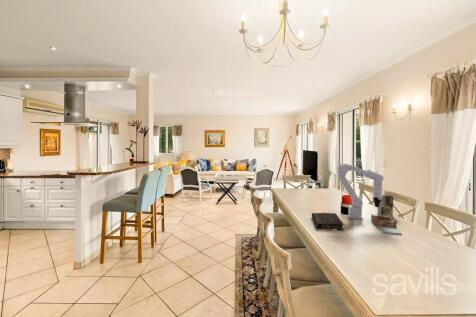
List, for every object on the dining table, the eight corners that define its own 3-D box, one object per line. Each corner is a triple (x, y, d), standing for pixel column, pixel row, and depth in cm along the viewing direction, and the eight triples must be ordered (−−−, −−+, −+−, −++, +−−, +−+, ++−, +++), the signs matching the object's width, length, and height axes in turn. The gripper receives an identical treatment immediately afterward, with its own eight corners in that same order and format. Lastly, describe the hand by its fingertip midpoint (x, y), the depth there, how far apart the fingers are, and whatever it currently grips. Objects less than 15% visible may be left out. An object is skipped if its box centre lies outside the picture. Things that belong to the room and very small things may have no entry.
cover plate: (383, 234, 156) (383, 231, 156) (378, 228, 166) (378, 226, 166) (401, 235, 153) (401, 233, 153) (395, 229, 163) (395, 227, 163)
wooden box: (376, 226, 168) (376, 219, 167) (371, 220, 180) (371, 214, 180) (396, 228, 165) (396, 220, 164) (389, 222, 177) (390, 215, 177)
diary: (316, 230, 163) (316, 222, 163) (311, 218, 188) (311, 212, 187) (345, 231, 160) (345, 224, 159) (336, 219, 184) (336, 213, 184)
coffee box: (388, 213, 199) (389, 194, 198) (392, 216, 192) (393, 196, 192) (377, 213, 200) (377, 194, 199) (380, 215, 193) (381, 196, 192)
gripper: (386, 191, 176) (385, 209, 177) (380, 188, 190) (379, 205, 191) (375, 191, 178) (375, 209, 178) (370, 187, 192) (369, 204, 192)
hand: (376, 206), depth 185 cm, fingers closed
